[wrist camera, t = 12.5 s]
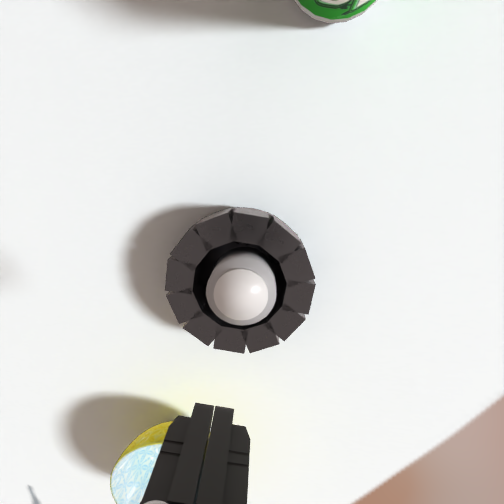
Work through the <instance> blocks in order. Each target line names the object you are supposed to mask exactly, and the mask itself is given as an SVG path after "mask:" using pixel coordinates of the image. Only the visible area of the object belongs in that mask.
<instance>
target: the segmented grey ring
mask: <svg viewBox="0 0 504 504" xmlns="http://www.w3.org/2000/svg"><path fill="white" fill-rule="evenodd" d="M242 246H246V247H252V248H255V249H257V250H260V251H261V252H263V253H264V254H265V255H266V256H267V257H268V258H269V260H270V261H271V263H272V265H273V268H274V272H275V282H276V301H275V304H274V306H273V308H272V310H271V311H270V313H269V314H268V315H267V316H266V317H265V318H263V319H262V320H260V321H259V322H256V323H254V324H250V325H234V324H231V323H228V322H226V321H224V320H222V319H220V318H219V317H218V316H217V315H216V314H215V313H214V312H213V311H212V309H211V308H210V306H209V304H208V301H207V297H206V287H207V283H208V280H209V278H210V276H211V274H212V272H213V270H214V268H215V266H216V263H217V261H218V260H219V258H220V257H221V256H222V255H223V254H224V253H225V252H227V251H228V250H230V249H233V248H236V247H242ZM170 254H171V255H172V256H171V257H170V258H169V259H168V264H167V274H166V285H165V290H166V291H169V293H168V294H167V295H166V297H167V299H168V301H169V303H170V305H171V307H172V309H173V312H174V314H175V316H176V318H177V320H178V322H179V324H180V323H183V322H186V323H185V325H184V327H183V328H184V329H185V330H186V331H188V332H189V333H191V334H192V335H193V336H195V337H196V338H197V339H199V340H200V341H202V342H203V343H204V344H206V345H207V346H209V345H210V344H211V342H212V341H213V340H214V339H215V341H214V347H213V348H214V349H220V350H226V351H232V352H238V353H244V352H245V346H246V345H247V348H248V350H249V352H250V353H252V352H255V351H259V350H262V349H265V348H268V347H272V346H275V345H278V344H279V338H281V339H282V340H283V341H285V340H286V339H287V338H288V337H289V336H290V335H291V334H292V333H293V332H294V331H295V330H296V329H297V328H298V327H299V326H300V325H301V324H302V323H303V322H304V321H305V320H306V319H305V315H304V314H309V310H310V306H311V301H312V297H313V293H314V289H315V285H316V284H315V282H314V280H313V279H315V276H314V273H313V270H312V268H311V265H310V262H309V259H308V256H307V253H306V250H305V247H304V245H303V243H302V241H301V239H299V237H298V235H297V234H296V233H295V232H294V231H292V229H291V228H290V227H289V226H287V225H286V224H285V223H284V222H283V221H281V220H280V219H279V218H277V217H276V216H275V215H272V214H270V213H268V212H264V211H262V210H258V209H253V208H244V207H243V208H240V207H237V208H229V209H225V210H222V211H219V212H216V213H214V214H212V215H210V216H207V217H205V218H202V219H201V220H200V221H199V222H197V223H196V224H195V225H193V226H192V227H191V228H190V229H189V230H188V232H187V233H186V234H185V235H184V237H183V238H182V239H181V241H180V242H179V243H178V244H177V246H176V247H175V248H174V250H173V251H172V252H171V253H170Z"/></svg>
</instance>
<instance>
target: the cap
mask: <svg viewBox="0 0 504 504" xmlns="http://www.w3.org/2000/svg"><path fill="white" fill-rule="evenodd" d="M206 297H207V301H208V304H209V306H210V308H211V309H212V311H213V312H214V313H215V314H216V315H217V316H218V317H219V318H220V319H222V320H224V321H226V322H228V323H231V324H234V325H250V324H254V323H256V322H259V321H260V320H262V319H263V318H265V317H266V316H267V315H268V314H269V313H270V311H271V310H272V308H273V306H274V304H275V301H276V282H275V272H274V268H273V265H272V263H271V261H270V260H269V258H268V257H267V256H266V255H265V254H264V253H263V252H261V251H260V250H257V249H255V248H252V247H246V246H242V247H236V248H233V249H230V250H228V251H227V252H225V253H224V254H223V255H222V256H221V257H220V258H219V260H218V261H217V263H216V266H215V268H214V270H213V272H212V274H211V276H210V278H209V280H208V283H207V287H206Z"/></svg>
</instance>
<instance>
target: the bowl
mask: <svg viewBox="0 0 504 504" xmlns="http://www.w3.org/2000/svg"><path fill="white" fill-rule="evenodd" d="M172 422H173V421H169V422H164V423H161V424H158V425H156V426H153V427H151V428H149V429H148V430H146V431H145V432H143V433H142V434H140V435H139V436H138V437H137V438H136V439H135V440H134V441H133V442H132V443H131V444H130V445H129V446H128V447H127V448H126V449H125V451H124V452H123V453H122V455H121V456H120V458H119V459H118V461H117V462H116V464H115V466H114V468H113V470H112V473H111V478H110V487H111V492H112V496H113V498H114V500H115V502H116V504H140V502H141V500H142V498H143V496H144V493H145V490H146V487H147V485H148V482H149V479H150V476H151V474H152V471H153V468H154V465H155V463H156V460H157V457H158V454H159V453H160V449H161V446H162V443H163V442H164V438H165V435H166V432H167V430H168V427H169V425H170V424H171V423H172ZM209 436H210V435H209Z"/></svg>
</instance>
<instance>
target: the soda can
mask: <svg viewBox="0 0 504 504" xmlns="http://www.w3.org/2000/svg"><path fill="white" fill-rule="evenodd" d="M376 1H377V0H295V2H296V3H297V5H298V6H299V8H300V9H301V10H302V11H304V12H305V13H306V14H308V15H309V16H310V17H312V18H313V19H316V20H319V21H323V22H326V23H339V22H347V21H349V20H351V19H353V18H355V17H358V16H360V15H362V14H363V13H364V12H365V11H366V10H367V9H369V8H370V7H371V6H372V5H373V4H374V3H375V2H376Z"/></svg>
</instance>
